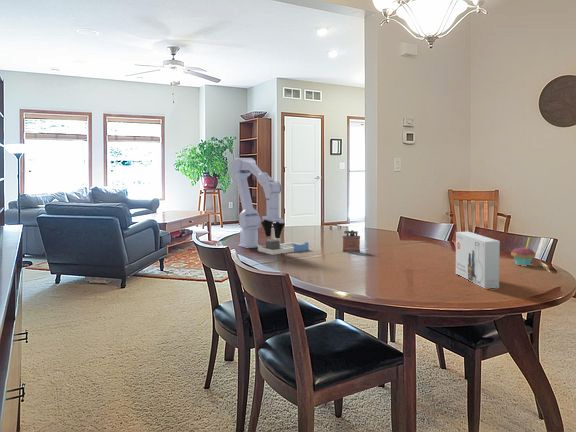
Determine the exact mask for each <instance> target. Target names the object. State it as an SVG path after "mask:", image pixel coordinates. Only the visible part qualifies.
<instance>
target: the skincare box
mask: <svg viewBox="0 0 576 432" xmlns="http://www.w3.org/2000/svg"><path fill="white" fill-rule="evenodd" d="M500 246H501V241H500V240H497V239H494V238H491V237H488V236H484V235H481V234H478V233H475V232H471V231H456V232H455V275H456V274H458V275H460V276H462V277H464V278H466V279H468V280H469V281H471V282H473V283H475V284H477V285H479V286H481V287H483V288H499V289H500ZM458 275H457V276H458ZM460 276H459V277H460ZM462 277H461V278H462ZM464 278H463V279H464ZM466 279H465V280H466ZM468 280H467V281H468ZM469 281H468V282H469ZM471 282H470V283H471ZM473 283H472V284H473ZM475 284H474V285H475ZM477 285H476V286H477ZM479 286H478V287H479ZM481 287H480V288H481ZM483 288H482V289H483Z"/></svg>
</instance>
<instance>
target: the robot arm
mask: <svg viewBox="0 0 576 432" xmlns="http://www.w3.org/2000/svg"><path fill="white" fill-rule="evenodd" d="M256 161H257V160H255V159H254V158H253V157H235V158H234V160H233V162H232V169H233V174H234V177H235V180H236V185H237V190H238V194H239V199H240V204H241V208H242V211H241V212H240V213H239V214H238V217H239V218H238V219H239V220H238V223H239V226H240V228H241V230H240V231H239V244H238V245H237V246H238V247H241V248H246V249H253V248H258V247H260V246H262V245H260V244H259V243H258V242H259V239H258V236H259V235H258V234H259V233H258V232H259V230H258V229H259V228H260V227H261V225H262V227H263V229H264V233H265V237H271V235H272V227H273V231H274V237H275V239H280V238H281V236H282V235H281V234H282V231H283V228H284V227H285V225H286V224H285V222H284V218H282V217H280V208H279V207H280V201H279V200H280V195H279V194H281V192H282V185H281V183H280V182H279V180H278V181H276V180H274V179H273V178H272V177H271V176H270V175H269V173H268V172H263V171H262V170H261V169H260V168H259V166H258V165H257V162H256ZM251 174H252V175H254V176H255V177H256V181H257V183H259V185H261V187H262V188H263V189H262V190H263V192H264V197H265V199H266V200H265V202H266V204H265V206H266V207H265V208H266V215H265V216H260V214H259V212H258V211H257V210H256V209H255V208H254V204H253V201H252V197H251V191H250V185H249V183H248V177H250V176H251ZM261 218H262V219H261Z"/></svg>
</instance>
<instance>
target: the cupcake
mask: <svg viewBox="0 0 576 432" xmlns="http://www.w3.org/2000/svg"><path fill="white" fill-rule="evenodd" d="M530 240H531V235H529V237H527V241H526V246H525V247H516V248H514V249H512V250H511V253H510V255H511V256H512V257H513V260H514V262H515V265H516V264H521V265H529V266H530V265H531V262H532V261H533V259H534V258H536V252H535V251H534V250H532V249H531V248H529V243H530Z"/></svg>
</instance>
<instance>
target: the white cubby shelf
mask: <svg viewBox="0 0 576 432" xmlns="http://www.w3.org/2000/svg"><path fill="white" fill-rule="evenodd" d="M309 246H310V245H309V242H307V241H305V242H304V243H303V244H302V243H298V242H294V241H293V242H285V243H280V249H276V250H271V249H267V248H266V245H261V246H260V247H257V252H260V253H263V254H267V255H272V256H274V255H278V254H279V255H281V253H282V254H287V253H297V252H304V251H309Z"/></svg>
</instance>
